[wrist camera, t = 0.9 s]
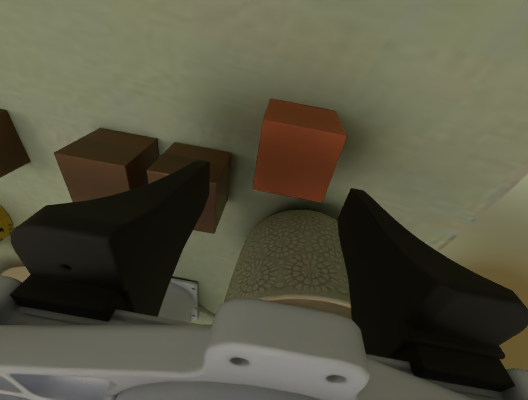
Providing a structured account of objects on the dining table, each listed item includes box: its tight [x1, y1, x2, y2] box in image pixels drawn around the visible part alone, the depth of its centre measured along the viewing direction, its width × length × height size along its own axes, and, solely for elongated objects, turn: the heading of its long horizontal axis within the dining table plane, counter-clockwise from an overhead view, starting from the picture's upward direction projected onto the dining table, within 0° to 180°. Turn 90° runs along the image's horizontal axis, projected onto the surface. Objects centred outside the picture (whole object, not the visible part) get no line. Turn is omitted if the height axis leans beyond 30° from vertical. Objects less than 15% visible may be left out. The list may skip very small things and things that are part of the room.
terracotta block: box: [253, 99, 347, 202], centre depth 18 cm, size 5×5×5 cm
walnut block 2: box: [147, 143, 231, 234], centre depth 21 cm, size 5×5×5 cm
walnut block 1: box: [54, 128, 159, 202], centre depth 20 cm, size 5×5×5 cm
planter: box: [224, 210, 352, 320], centre depth 22 cm, size 12×12×11 cm
